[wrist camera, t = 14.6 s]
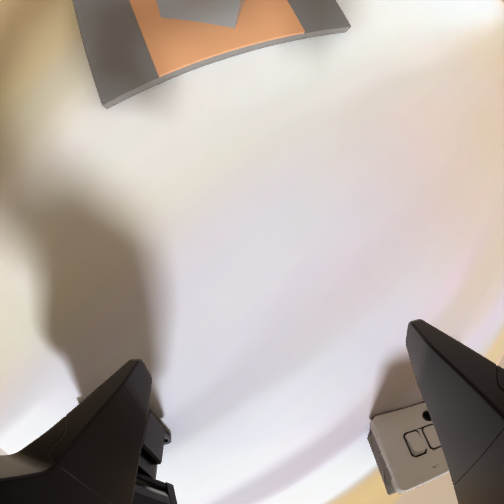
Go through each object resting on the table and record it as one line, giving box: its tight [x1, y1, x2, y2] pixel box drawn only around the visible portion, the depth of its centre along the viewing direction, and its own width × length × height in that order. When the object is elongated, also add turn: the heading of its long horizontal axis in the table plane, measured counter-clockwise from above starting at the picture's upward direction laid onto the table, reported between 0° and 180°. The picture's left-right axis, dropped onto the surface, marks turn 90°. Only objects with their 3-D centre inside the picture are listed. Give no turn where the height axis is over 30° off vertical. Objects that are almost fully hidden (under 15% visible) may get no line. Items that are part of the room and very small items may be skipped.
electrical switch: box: [367, 402, 449, 495], centre depth 22 cm, size 9×5×9 cm, turn 87°
